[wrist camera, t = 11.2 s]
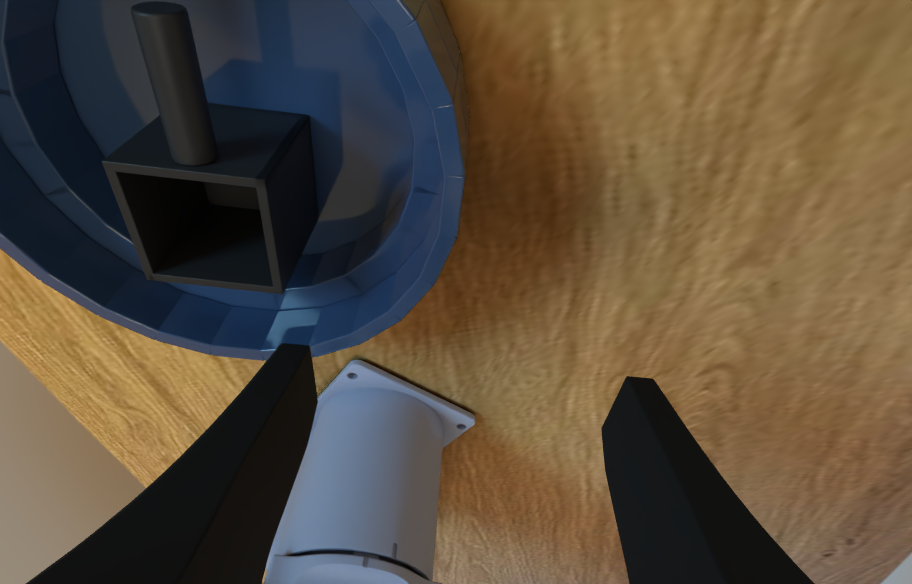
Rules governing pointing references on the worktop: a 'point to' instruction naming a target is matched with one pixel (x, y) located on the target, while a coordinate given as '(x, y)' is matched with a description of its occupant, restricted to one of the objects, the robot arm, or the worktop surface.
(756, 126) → the worktop surface
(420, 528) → the robot arm
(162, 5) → the scoop
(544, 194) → the worktop surface
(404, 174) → the bowl
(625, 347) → the worktop surface
